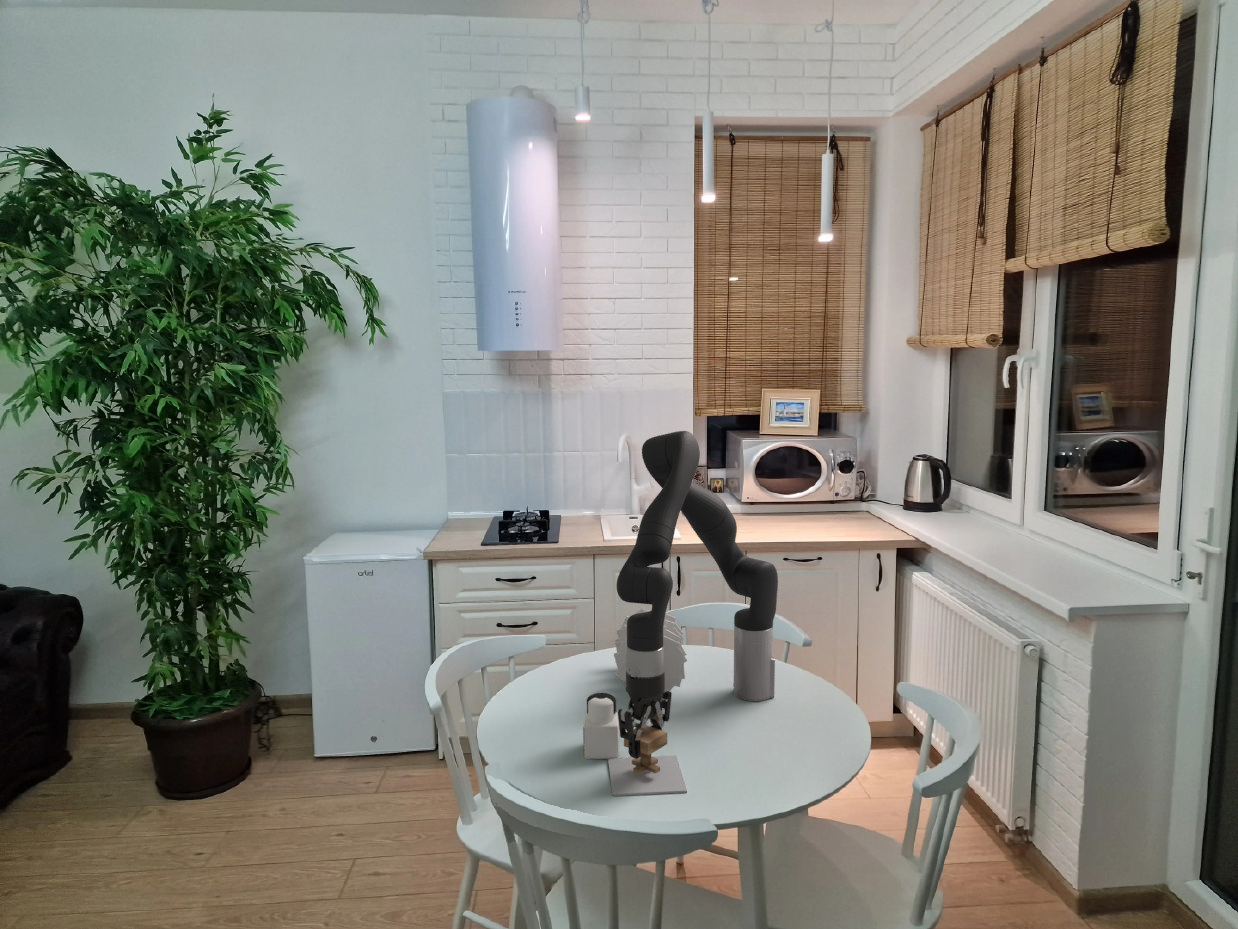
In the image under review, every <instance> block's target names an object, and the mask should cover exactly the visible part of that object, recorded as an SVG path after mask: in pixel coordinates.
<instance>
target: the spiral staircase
mask: <svg viewBox="0 0 1238 929" xmlns="http://www.w3.org/2000/svg"><path fill="white" fill-rule="evenodd" d="M651 610H652V609H648V610H647V609H646V610H645V608H644V607H642V608H640V609H639V610H637V611H636V612H635V613H634V614H637V613H644V612H649V611H651ZM634 614H632V615H634ZM629 617H630V616H628V615H626V616H625V618H624V621H623V622H622V625H621V627H620V628H617V629H615V631H616V635H617V638H615V639H614V642H615V643H614V644H615V648H616V652H614V653H613V657H614V660H615V662H614V663H616V666H617V670H616V671H615V672H614V674H615V675H616V676H617V677H619V679H621V680H622V681H623V682H624V683H625V684H626V651H627V620H628V618H629ZM676 620H677V617H675V616H673V615H670V614H668V613H666V614H665V619H664V627H663V648H664V656H665V690H666V691H669V692H671V690H673V688H674V687H677V688H680V686H681V683H682V680H685V679H686V677H685V676H686V675H685V674H686V672H685V663H686V662H688V659H687V658H686V656H687V653H686V652H685V649H684V648H683V645H682V641H683V640H684V639H685V638H684V637H683V635H684V632H683V631H682V630H681V628H680V627H679V626H678V624H677V622H676Z"/></svg>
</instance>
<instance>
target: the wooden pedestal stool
mask: <svg viewBox="0 0 1238 929" xmlns="http://www.w3.org/2000/svg"><path fill="white" fill-rule="evenodd" d="M651 726H652V725H647V724H646V725H645V728H644V729H643V730H642V732H641V736H640V739H639V740H640V759H639V758H638V759H635V758H634V759H633V760H632V764H633V765H635V766H636V767H634V768H633V772H634V773H636V774H640V773H642V772H644V771H645V770H648V771H650V772H653V773H655V774H656V773H658V772H659V771H660V767H659V766H656V765H655V764H657V763H658V759H657V758H654V757H651V756H652V754H653V753H655V752H656V751H658V750H660V749H662V748H663V747H665V746H667V745H668V731H664V730H663V729H662V730H658V729H656V728H653V727H651ZM633 733H636V727H634V729H633ZM623 746H624V747H625V748H628V749H629V745H628V740H626V739H624V738H623Z"/></svg>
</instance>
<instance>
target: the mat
mask: <svg viewBox="0 0 1238 929" xmlns="http://www.w3.org/2000/svg"><path fill="white" fill-rule="evenodd" d="M651 757H654V758H657V759H658V763H657V764H655V765H656V766H659V767H660V771H659V772H658V773H656V774H655V773H653V772H650V771H648V770H645V771H644V772H642V773H640V774H636V773H634V772H633V768H634V767H636V766H635V765H633V764H632V760H633V759H634V758H633V757H631V756H630V757H619V758H608V759H607V762H608V770H609V777H610V778H609V779H610V785H611V786H610V787H611V793H612V794H611V795H612V796H613V797H619V796H620V797H621V796H623V797H624V796H641V795H660V794H661V795H663V794H683V793H688V790H687V786H686V783H685V780H684V776H683V772H682V769H681V767H680V763H679V760H678V756H677V755H676V754H675V755H674V754H673V755H654V756H653V755H651ZM639 759H640V758H639Z"/></svg>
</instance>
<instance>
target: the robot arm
mask: <svg viewBox="0 0 1238 929" xmlns="http://www.w3.org/2000/svg"><path fill="white" fill-rule="evenodd" d="M700 452H701V451H700V446H699V443H698V441H697V438H696V437H695V435H694V434H693V433H692V432H690V431H687V430H681V431H680V430H679V431H674V432H668V433H665V434H661V435H657V436H653V437H650V438H648V439H646V440H645V441H644V443H643V444H642V447H641V456H642V460H643V464H644V465H645V468H646V470H647V471H648V473H649V474H650V476H651V477H652V478H653V480H654V481H655V482H656V483H657V484H658V485H659V486H660V488H661V490H660V492H658V494H657V495H656V497H655V498H654V499H653V500H652V502H651V503H650V504H649V506H648V507H647V508H646V510H645V512H644V514H643V515H642V518H641V521H640V523H639V528H638V532H637V535H636V541H635V544H634V546H633V548H632V550H631V552H630V554H629V556H628V558H627V559H626V561H625V562H624V564H623V566H622V567H621V569H620V571H619V573H618V576H617V579H616V591H617V595H618V597H619V598H620V600H622V601H623V602H625V603H631V604H641V605H651V609H650V610H651V611H649V612H644V613H637V614H635V613H634V615H633V614H632V615H630V616H628V617H629V618H628V620H627V651H626V683H625V690H626V691H625V692H626V693H627V695H628V697H629V702H628V704H627V707H626V708H624V709H622V708H620V709H618V711H617V712H618V721H619V731H620V738H621V739H623V740H624V739H626V740H628V745H629V748H628V755H629V756H630V757H633V758H635V759H638V758H640V740H639V739H640V736H641V732H642V730H643V729H644V728H645V725H647V721H648V720H649V721H650V722H649V723H650V726H651V727H653V728H656V729H658V730H662V731H663V727H664V725H665V722H669V721H670V716H671V704H672V695H673V694H672V692H671V691H666V690H665V656H664V648H663V627H664V619H665V614H667V608H668V606H669V602H670V598H671V596H672V592H673V589H674V588H673V587H674V580H673V576H672V574H671V573H670V571H669V570H668V569H666V568H664V567H659V566H658V567H655V566H653V565H658V564H662V563H666V561H667V560H668V559H670V555H671V551H672V546H673V541H674V537H675V533H676V532H675V531H676V527H677V522H678V519H679V516H680V513H682V515H683V516H684V517H685V519H686V520H687V522H688V523H689V524H688V525H690V527H691V529H692V530H693V531H694V533H695V534H696V535H697V537H698V538H699V539H700V541H701V542H702V543H703V545H704V547H705V548H706V549H707V551H708V553H709V554H710V555H711V557H712V558H713V559H714V560H713V561H714V562H716V564H717V566H718V568H719V570H720V572H721V574H722V576H723V578H724V581H725V582H726V584H727V585H728V587H729V589H730V590H732V592H733V593H735V594H736V595H739V596H742V597H746V598H750V602H749V607H746V608H742V609H740V610H737V611H736V612H735V614H734V617H733V618H734V620H733V625H734V626H733V684H732V686H733V695H734V696H735V697H737V698H738V699H741V700H744V701H749V702H750V701H751V702H759V701H760V702H761V701H766V700H768V699H770V698H772V699H773V698H775V689H776V688H775V685H776V684H775V681H776V680H775V678H776V677H775V676H776V674H775V673H776V671H775V670H776V659H775V658H774V656H773V652H774V648H773V647H774V639H773V638H774V619H775V616H776V614H777V603H778V602H777V601H778V590H779V589H778V586H779V576H778V571H777V568H776V566H775V565H774V564H773V563H772V562H770V561H766V560H765V561H764V560H761V559H756V558H753V557H752V558H751V557H749V556H747V555H745V553H744V552H743V551H742V550H741V549H740V547H739V546H738V544H737V543H736V538H737V531H738V527H737V522H736V519H735V517H734V515H733V513H732V511H731V510H730V509H729V507H728V505H727V503H725V501H724V500H723V499H722V498H721V497H720V496H719V495H717V494H716V493H714V492H713V491H711V490H710V489H708V488H706V487H705V486H702V485H699V483H696V482H695V481H694V478H695V475H696V473H697V471H698V468H699V464H700V456H701V454H700ZM663 710H664V712H663ZM635 720H636V721H635ZM637 721H638V722H637ZM635 728H636V733H633V729H635Z"/></svg>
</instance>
